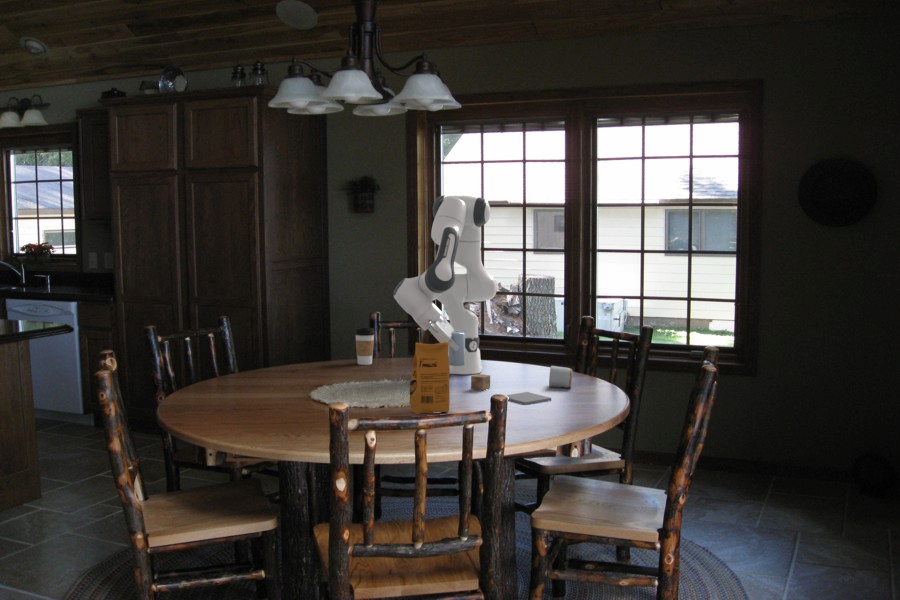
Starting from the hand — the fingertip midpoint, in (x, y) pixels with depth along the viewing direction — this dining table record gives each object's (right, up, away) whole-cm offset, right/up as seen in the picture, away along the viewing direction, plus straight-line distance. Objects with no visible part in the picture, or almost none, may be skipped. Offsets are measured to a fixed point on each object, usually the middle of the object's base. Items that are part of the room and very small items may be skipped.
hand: (458, 347), depth 290 cm
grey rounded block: (+37, -16, +20) cm, 45 cm away
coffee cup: (-39, -10, +62) cm, 74 cm away
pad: (+23, -17, -3) cm, 29 cm away
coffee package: (-10, -19, -21) cm, 30 cm away
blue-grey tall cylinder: (-1, -6, +1) cm, 6 cm away
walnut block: (+8, -16, +13) cm, 22 cm away
